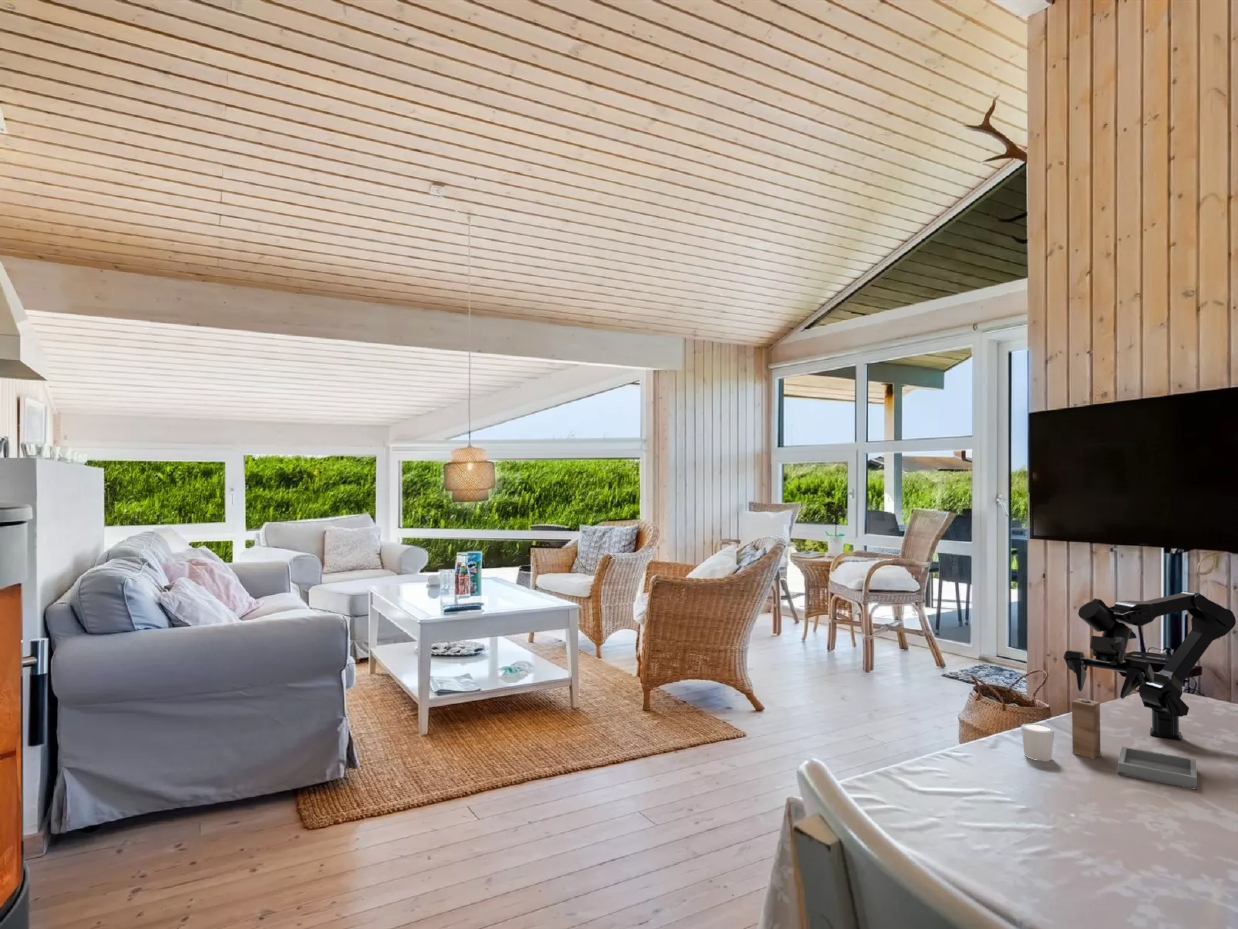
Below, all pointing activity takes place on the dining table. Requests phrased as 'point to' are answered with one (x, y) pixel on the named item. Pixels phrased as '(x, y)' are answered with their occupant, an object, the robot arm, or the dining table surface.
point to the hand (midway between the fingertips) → (1100, 693)
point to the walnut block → (1086, 727)
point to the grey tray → (1158, 767)
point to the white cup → (1037, 741)
